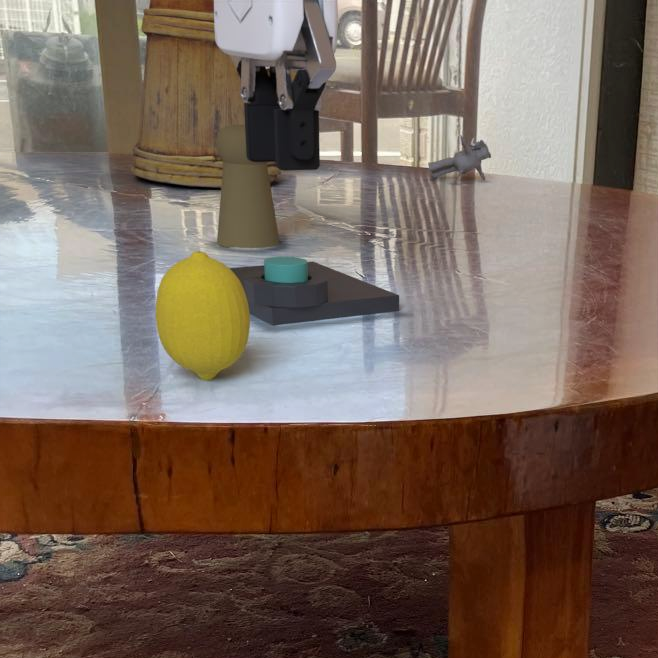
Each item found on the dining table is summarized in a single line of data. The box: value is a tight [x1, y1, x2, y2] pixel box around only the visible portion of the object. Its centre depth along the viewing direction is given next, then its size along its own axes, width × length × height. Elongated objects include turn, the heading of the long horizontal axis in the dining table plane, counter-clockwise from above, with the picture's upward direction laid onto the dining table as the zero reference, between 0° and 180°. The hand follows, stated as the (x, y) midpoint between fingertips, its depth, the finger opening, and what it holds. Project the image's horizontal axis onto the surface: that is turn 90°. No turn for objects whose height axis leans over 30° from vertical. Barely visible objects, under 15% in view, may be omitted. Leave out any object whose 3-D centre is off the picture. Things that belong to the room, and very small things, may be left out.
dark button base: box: [228, 261, 400, 327], centre depth 89 cm, size 12×14×3 cm
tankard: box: [130, 0, 297, 189], centre depth 142 cm, size 18×24×25 cm
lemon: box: [155, 250, 251, 381], centre depth 68 cm, size 6×6×8 cm
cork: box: [216, 125, 281, 249], centre depth 108 cm, size 6×6×11 cm
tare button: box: [263, 256, 309, 283], centre depth 84 cm, size 3×3×2 cm
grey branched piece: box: [427, 134, 492, 182], centre depth 161 cm, size 10×6×9 cm
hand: (282, 162), depth 81 cm, fingers open, 3 cm apart
